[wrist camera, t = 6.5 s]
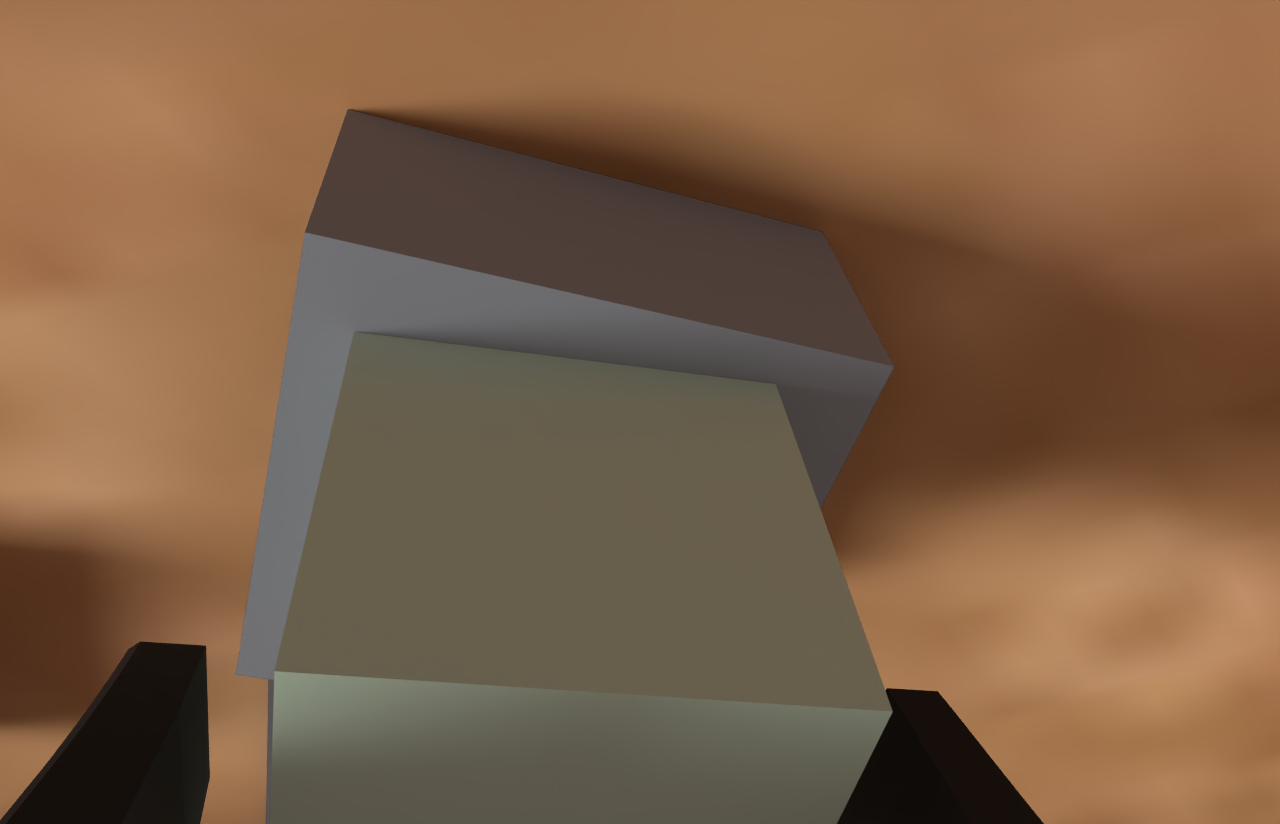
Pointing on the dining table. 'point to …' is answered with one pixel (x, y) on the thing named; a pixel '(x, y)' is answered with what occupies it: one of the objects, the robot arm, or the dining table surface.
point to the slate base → (544, 305)
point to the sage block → (565, 604)
